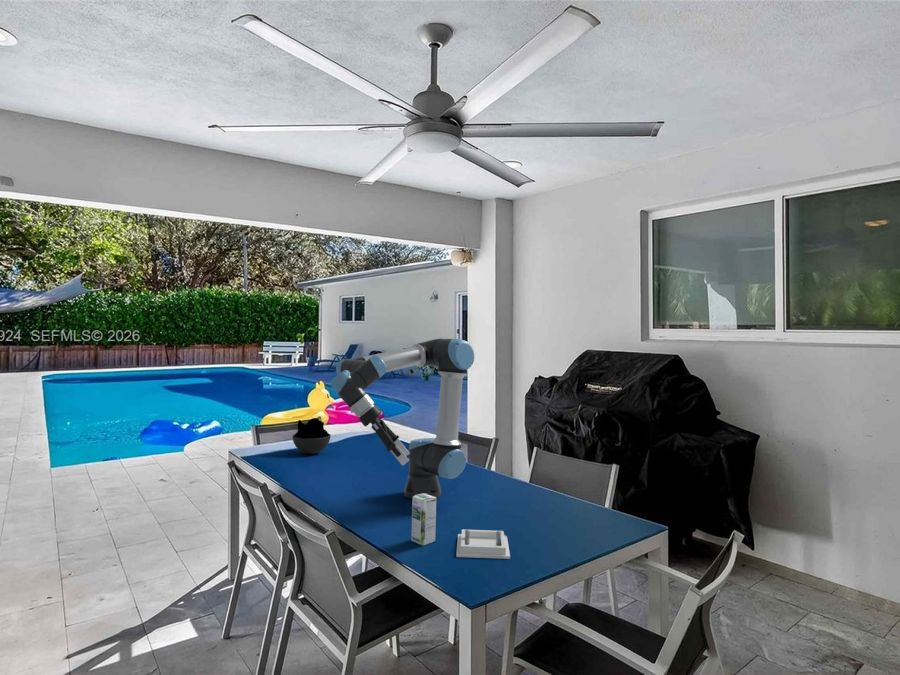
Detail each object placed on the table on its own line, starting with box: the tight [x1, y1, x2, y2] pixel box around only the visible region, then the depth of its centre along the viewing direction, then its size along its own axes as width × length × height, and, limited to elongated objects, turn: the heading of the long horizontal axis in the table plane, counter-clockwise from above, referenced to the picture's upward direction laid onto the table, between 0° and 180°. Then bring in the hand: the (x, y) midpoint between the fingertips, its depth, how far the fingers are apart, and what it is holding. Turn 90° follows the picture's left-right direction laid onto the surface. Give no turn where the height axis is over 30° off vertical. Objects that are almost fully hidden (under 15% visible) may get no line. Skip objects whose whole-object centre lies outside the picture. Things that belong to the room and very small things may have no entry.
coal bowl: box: [292, 417, 332, 455], centre depth 287 cm, size 20×20×19 cm
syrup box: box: [411, 493, 437, 547], centre depth 170 cm, size 6×6×14 cm
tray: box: [456, 529, 511, 560], centre depth 166 cm, size 16×16×5 cm
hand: (406, 459), depth 179 cm, fingers open, 13 cm apart
